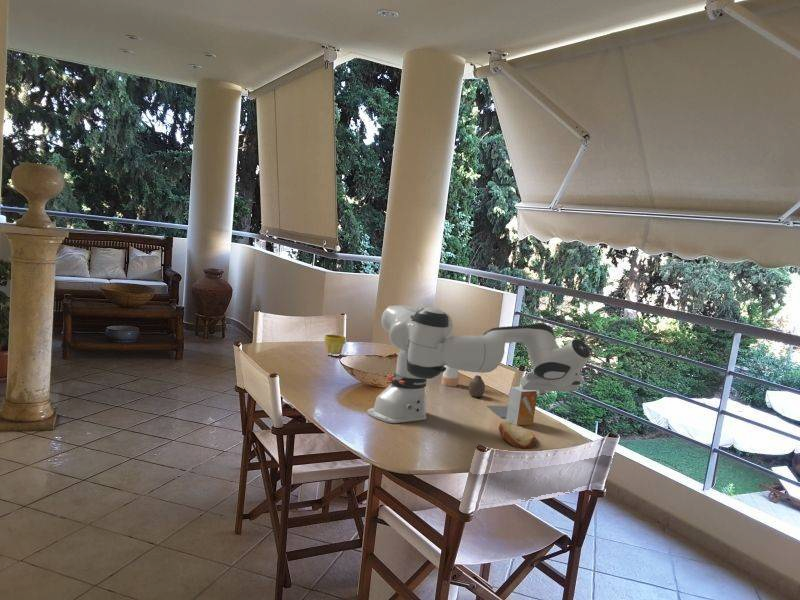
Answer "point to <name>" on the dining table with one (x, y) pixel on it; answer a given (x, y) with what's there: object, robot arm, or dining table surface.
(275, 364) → the dining table surface
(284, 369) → the dining table surface
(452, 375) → the pepper shaker
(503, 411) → the mat
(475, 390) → the avocado
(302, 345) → the dining table surface
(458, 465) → the dining table surface
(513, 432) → the bread slice
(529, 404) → the small box
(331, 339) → the plant pot
